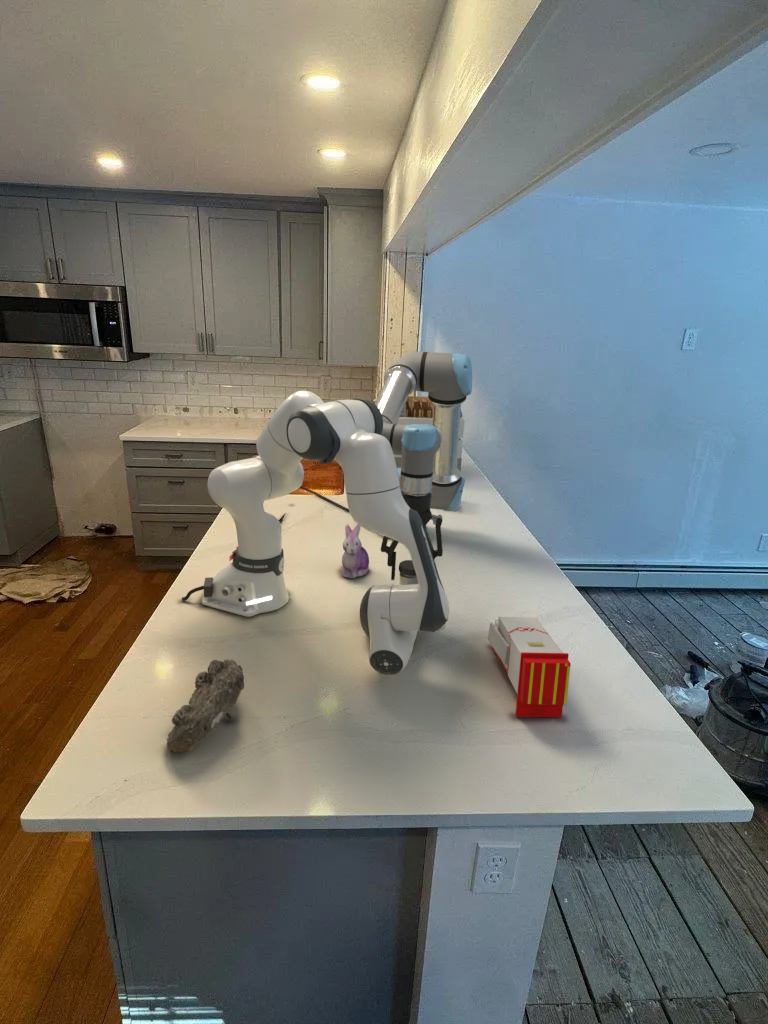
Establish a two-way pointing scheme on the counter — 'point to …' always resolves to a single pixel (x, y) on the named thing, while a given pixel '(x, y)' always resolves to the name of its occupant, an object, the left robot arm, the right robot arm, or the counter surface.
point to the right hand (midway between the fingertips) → (409, 578)
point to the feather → (281, 518)
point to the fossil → (206, 705)
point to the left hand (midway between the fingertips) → (409, 596)
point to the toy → (531, 665)
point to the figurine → (354, 554)
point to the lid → (407, 568)
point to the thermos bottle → (407, 579)
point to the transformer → (423, 420)
